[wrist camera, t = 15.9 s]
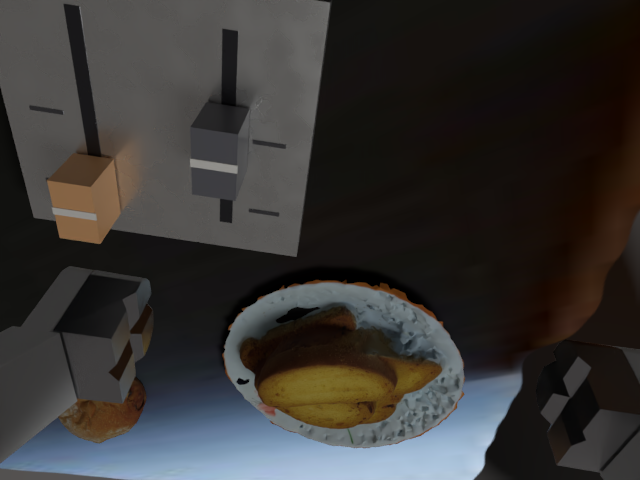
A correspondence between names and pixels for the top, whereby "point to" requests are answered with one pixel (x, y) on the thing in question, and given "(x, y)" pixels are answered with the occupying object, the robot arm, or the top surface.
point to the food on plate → (345, 363)
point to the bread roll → (105, 415)
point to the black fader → (219, 150)
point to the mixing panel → (168, 105)
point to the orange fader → (85, 197)
